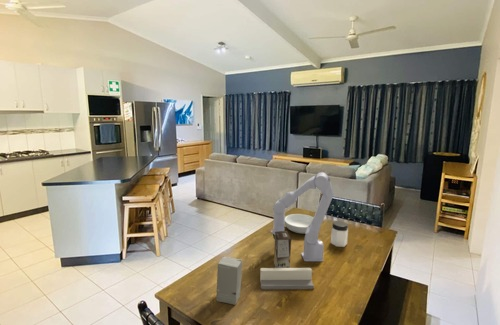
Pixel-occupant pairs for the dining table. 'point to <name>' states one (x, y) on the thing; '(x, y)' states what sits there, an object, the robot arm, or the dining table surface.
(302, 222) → the serving bowl
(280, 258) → the coffee box
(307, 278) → the board
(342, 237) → the jar
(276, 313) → the dining table surface
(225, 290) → the skincare box
